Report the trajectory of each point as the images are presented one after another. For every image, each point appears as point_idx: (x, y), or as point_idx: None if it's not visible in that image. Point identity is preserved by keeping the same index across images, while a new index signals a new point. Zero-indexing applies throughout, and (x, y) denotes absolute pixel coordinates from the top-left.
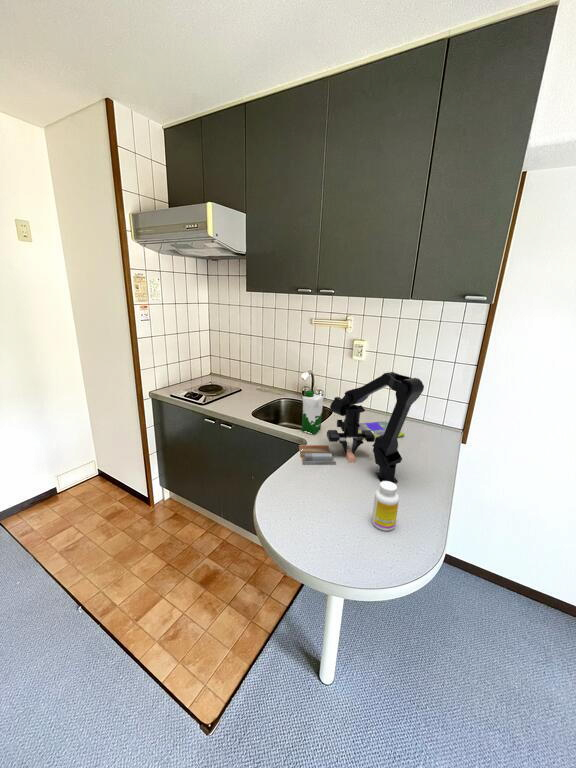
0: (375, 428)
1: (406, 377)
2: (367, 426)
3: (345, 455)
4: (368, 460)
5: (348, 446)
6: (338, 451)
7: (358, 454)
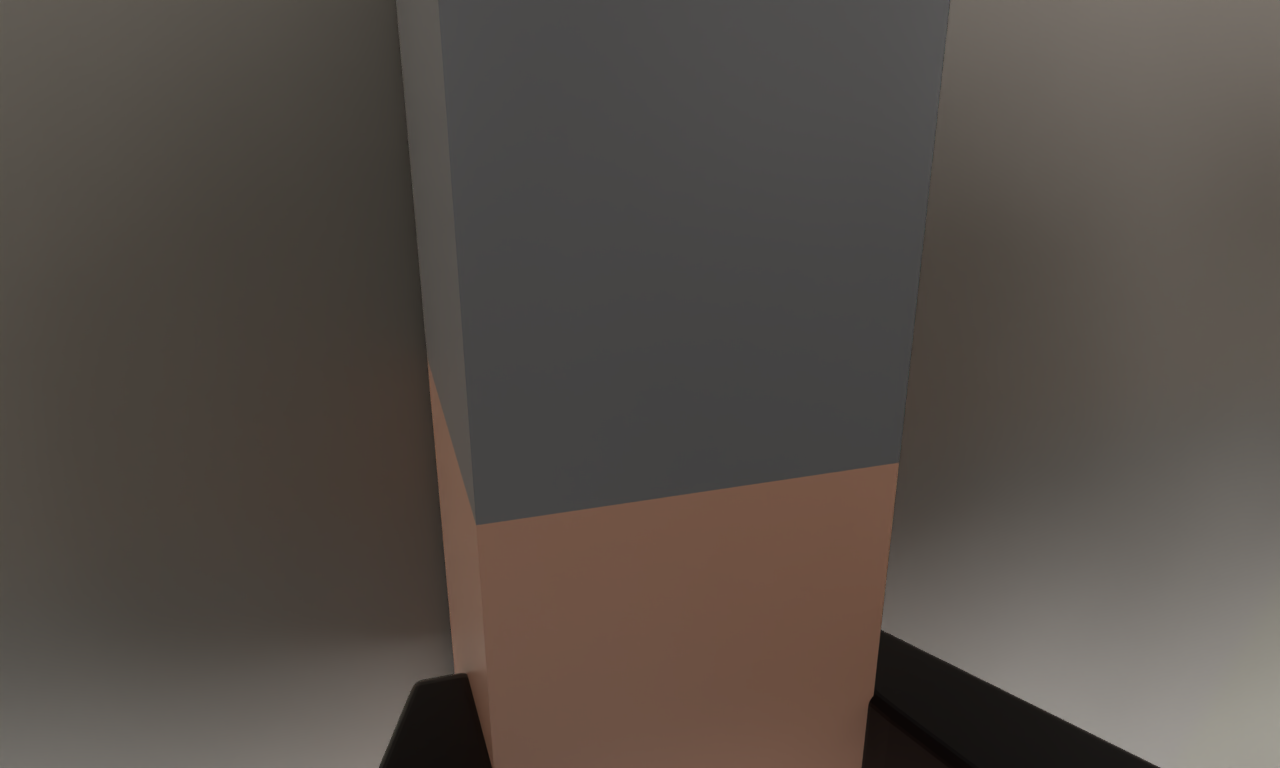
0: None
1: None
2: None
3: (460, 659)
4: (1232, 691)
5: (891, 123)
6: (93, 10)
7: (1118, 301)
